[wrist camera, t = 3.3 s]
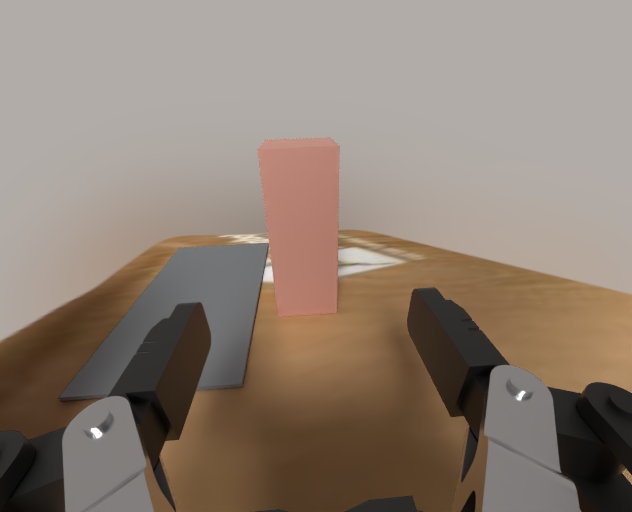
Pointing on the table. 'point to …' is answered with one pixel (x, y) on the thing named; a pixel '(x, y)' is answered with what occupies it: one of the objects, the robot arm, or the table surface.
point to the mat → (187, 287)
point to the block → (302, 222)
